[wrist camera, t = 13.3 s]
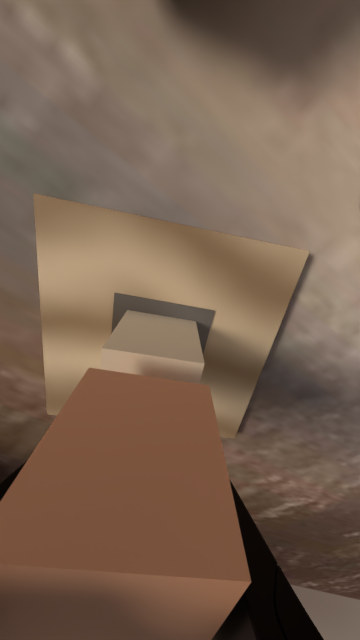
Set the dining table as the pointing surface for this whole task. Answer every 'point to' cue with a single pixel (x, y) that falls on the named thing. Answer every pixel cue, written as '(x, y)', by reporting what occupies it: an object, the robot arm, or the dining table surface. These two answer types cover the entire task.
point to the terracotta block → (123, 519)
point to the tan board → (158, 295)
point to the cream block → (154, 347)
